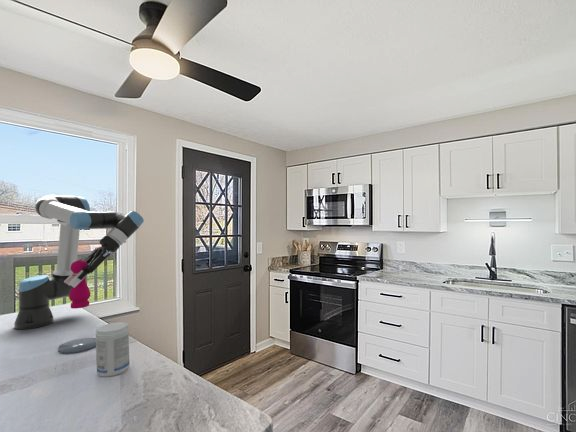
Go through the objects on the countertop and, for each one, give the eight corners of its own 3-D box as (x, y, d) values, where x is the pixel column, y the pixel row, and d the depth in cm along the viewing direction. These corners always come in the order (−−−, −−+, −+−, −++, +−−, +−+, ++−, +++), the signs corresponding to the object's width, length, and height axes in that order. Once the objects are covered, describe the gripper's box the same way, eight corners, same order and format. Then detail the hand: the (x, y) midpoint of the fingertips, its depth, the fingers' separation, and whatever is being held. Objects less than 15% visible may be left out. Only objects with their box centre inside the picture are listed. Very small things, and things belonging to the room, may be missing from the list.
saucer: (49, 350, 123) (49, 348, 123) (84, 338, 136) (84, 335, 136) (74, 355, 118) (74, 352, 118) (107, 342, 131) (107, 339, 131)
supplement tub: (129, 362, 111) (129, 320, 112) (129, 373, 103) (128, 328, 103) (97, 368, 107) (97, 324, 108) (94, 380, 99) (94, 333, 99)
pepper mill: (94, 304, 131) (94, 255, 131) (81, 308, 123) (80, 257, 124) (78, 304, 131) (77, 255, 132) (64, 309, 124) (63, 257, 125)
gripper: (128, 246, 133) (84, 293, 120) (111, 245, 146) (70, 287, 133) (114, 234, 129) (67, 281, 117) (98, 234, 142) (54, 276, 129)
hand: (69, 284), depth 125 cm, fingers closed on pepper mill, 6 cm apart
